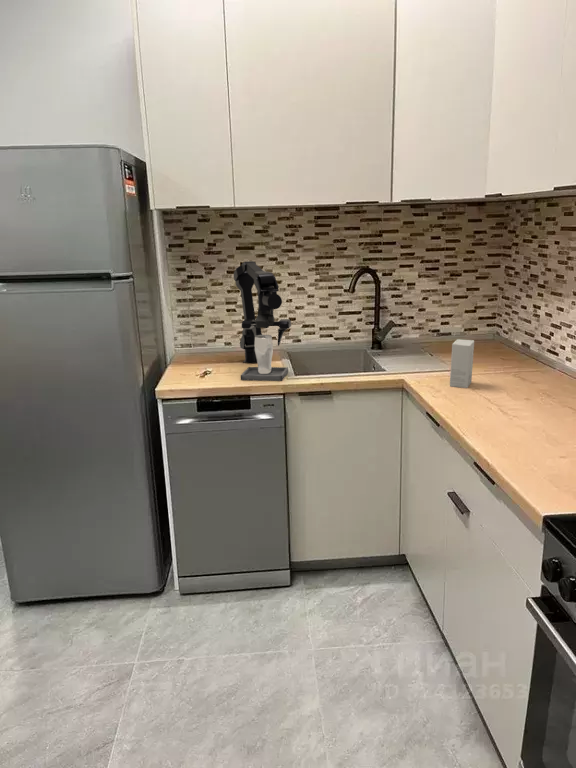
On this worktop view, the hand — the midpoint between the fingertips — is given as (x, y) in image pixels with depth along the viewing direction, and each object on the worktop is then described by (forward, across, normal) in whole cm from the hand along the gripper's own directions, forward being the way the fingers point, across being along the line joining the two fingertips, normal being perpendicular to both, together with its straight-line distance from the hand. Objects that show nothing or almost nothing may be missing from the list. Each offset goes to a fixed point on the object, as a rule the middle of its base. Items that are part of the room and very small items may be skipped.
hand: (267, 345), depth 232 cm
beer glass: (+10, 0, -6) cm, 12 cm away
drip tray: (+11, 0, -6) cm, 13 cm away
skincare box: (+11, +73, -13) cm, 75 cm away
